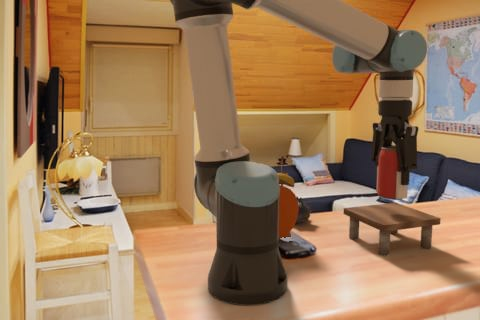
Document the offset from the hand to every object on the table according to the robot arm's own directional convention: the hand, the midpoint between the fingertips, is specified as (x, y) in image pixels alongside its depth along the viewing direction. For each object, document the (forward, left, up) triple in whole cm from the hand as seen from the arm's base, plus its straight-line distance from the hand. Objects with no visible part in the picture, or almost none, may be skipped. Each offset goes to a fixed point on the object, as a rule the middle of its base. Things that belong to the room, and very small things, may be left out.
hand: (391, 194), depth 112 cm
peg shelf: (0, 0, -12) cm, 12 cm away
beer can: (0, 0, -1) cm, 1 cm away
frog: (-14, +25, -12) cm, 31 cm away
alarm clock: (-27, +11, -12) cm, 32 cm away
